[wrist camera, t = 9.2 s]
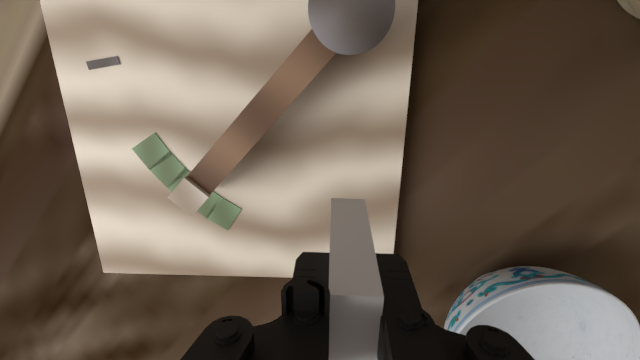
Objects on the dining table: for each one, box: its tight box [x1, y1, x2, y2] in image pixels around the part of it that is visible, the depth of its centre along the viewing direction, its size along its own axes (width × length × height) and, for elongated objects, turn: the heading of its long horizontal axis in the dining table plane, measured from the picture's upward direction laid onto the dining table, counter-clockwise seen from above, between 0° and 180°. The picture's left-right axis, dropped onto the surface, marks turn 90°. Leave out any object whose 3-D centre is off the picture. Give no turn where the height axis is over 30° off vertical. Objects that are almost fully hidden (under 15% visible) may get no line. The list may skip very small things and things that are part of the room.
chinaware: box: [444, 266, 640, 360], centre depth 31 cm, size 15×15×8 cm
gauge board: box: [40, 0, 418, 277], centre depth 28 cm, size 27×27×2 cm
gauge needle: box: [167, 0, 395, 216], centre depth 24 cm, size 19×5×6 cm, turn 137°
